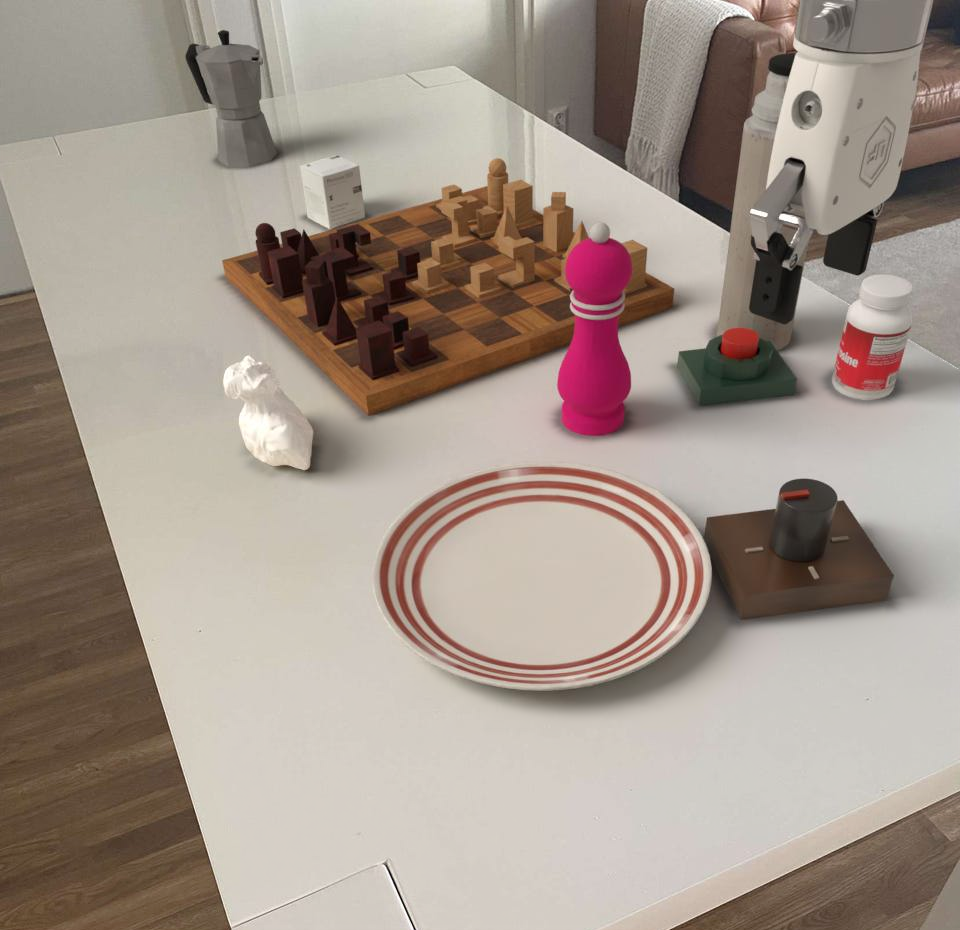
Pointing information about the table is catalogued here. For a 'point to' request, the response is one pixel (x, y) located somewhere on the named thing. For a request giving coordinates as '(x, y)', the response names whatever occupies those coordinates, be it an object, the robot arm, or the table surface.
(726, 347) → the button
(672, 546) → the dinner plate
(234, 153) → the coffeepot
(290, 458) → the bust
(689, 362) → the housing
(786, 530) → the knob
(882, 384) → the pill bottle
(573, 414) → the pepper mill
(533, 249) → the gameboard
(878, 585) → the panel
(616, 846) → the table surface
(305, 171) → the white cardboard box
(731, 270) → the thermos bottle
